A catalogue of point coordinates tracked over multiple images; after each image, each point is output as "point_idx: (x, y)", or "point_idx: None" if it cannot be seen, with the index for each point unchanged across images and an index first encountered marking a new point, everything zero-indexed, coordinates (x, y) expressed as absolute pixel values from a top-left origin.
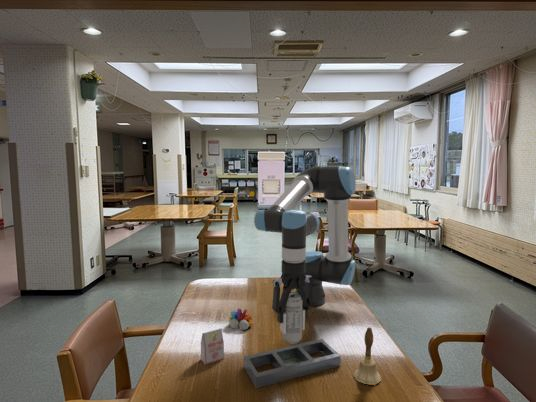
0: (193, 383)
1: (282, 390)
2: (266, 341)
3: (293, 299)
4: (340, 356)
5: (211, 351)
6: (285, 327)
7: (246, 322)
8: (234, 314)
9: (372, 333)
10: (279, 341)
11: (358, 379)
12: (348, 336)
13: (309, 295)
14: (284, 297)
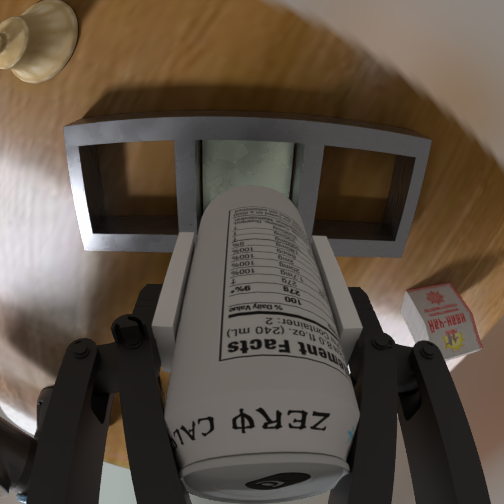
0: (500, 228)
1: (348, 76)
2: None
3: (310, 443)
4: (65, 126)
5: (449, 305)
6: (324, 257)
7: None
8: None
9: None
10: None
11: (72, 24)
12: (9, 254)
13: (73, 438)
14: (391, 465)
